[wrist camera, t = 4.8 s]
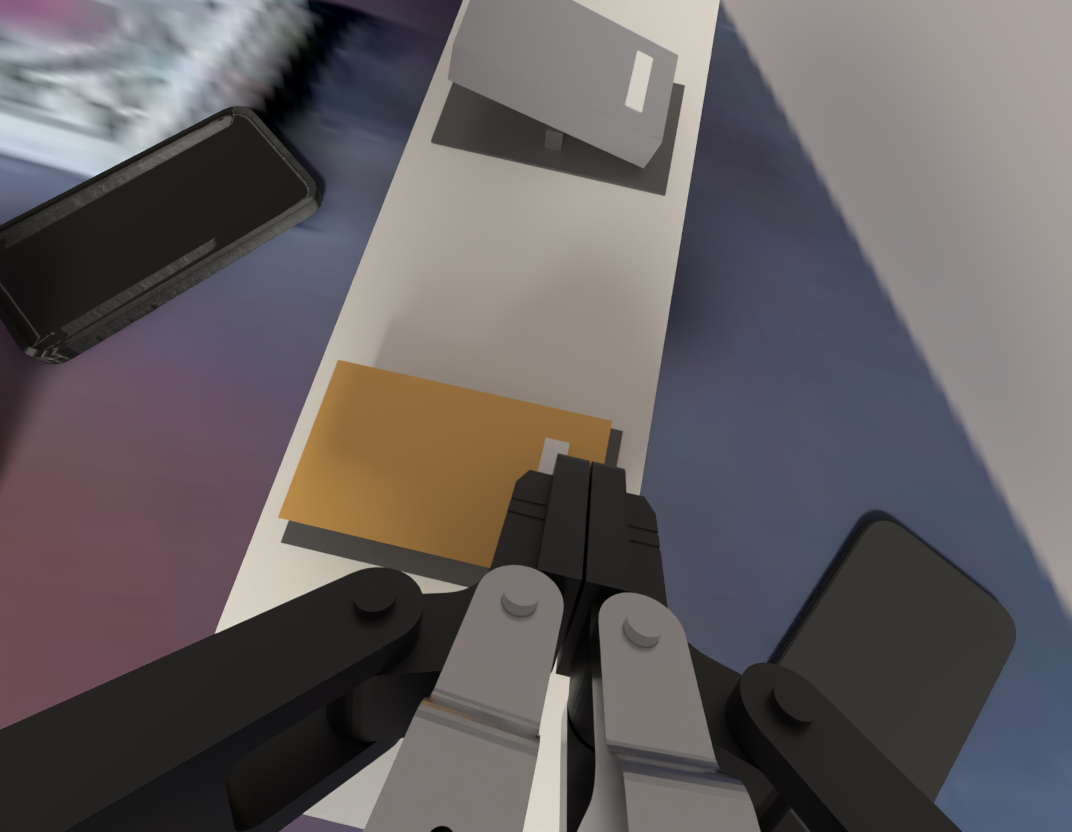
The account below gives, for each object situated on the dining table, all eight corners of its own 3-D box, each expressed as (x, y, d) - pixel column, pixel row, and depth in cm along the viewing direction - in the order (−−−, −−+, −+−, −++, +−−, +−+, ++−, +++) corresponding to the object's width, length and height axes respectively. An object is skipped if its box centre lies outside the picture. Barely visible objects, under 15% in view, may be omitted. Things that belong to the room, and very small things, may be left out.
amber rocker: (300, 523, 12) (276, 517, 11) (353, 377, 14) (337, 358, 12) (574, 587, 12) (581, 589, 11) (604, 434, 13) (612, 420, 12)
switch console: (296, 694, 19) (132, 791, 11) (490, 113, 28) (484, -81, 20) (548, 756, 19) (582, 902, 11) (662, 152, 28) (728, -27, 20)
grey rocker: (447, 79, 16) (453, 41, 15) (480, -6, 17) (487, -47, 16) (643, 168, 17) (663, 141, 16) (660, 84, 18) (679, 53, 17)
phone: (680, 810, 19) (877, 506, 22) (673, 800, 19) (865, 509, 23) (849, 973, 17) (1027, 624, 21) (834, 955, 18) (1008, 622, 22)
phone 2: (-45, 248, 23) (242, 98, 27) (-20, 262, 24) (252, 116, 28) (33, 369, 22) (326, 193, 25) (55, 378, 23) (334, 209, 26)
